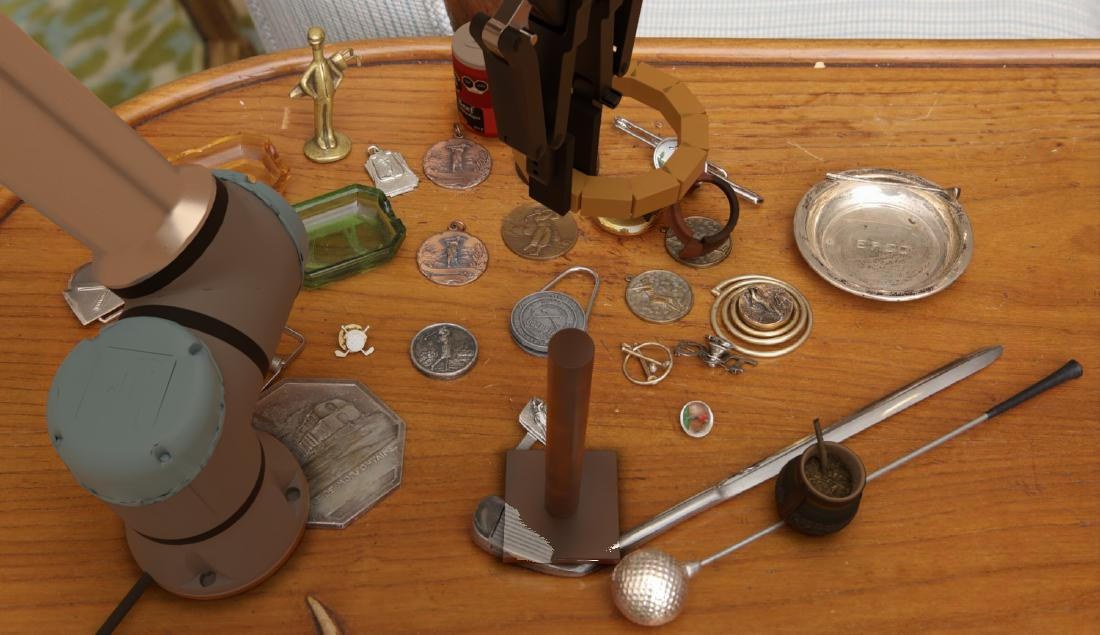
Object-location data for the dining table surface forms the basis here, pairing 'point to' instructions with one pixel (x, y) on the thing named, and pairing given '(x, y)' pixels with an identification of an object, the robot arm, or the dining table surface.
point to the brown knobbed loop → (686, 234)
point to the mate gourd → (820, 487)
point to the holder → (567, 466)
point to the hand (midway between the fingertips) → (562, 189)
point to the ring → (662, 182)
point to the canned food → (472, 84)
